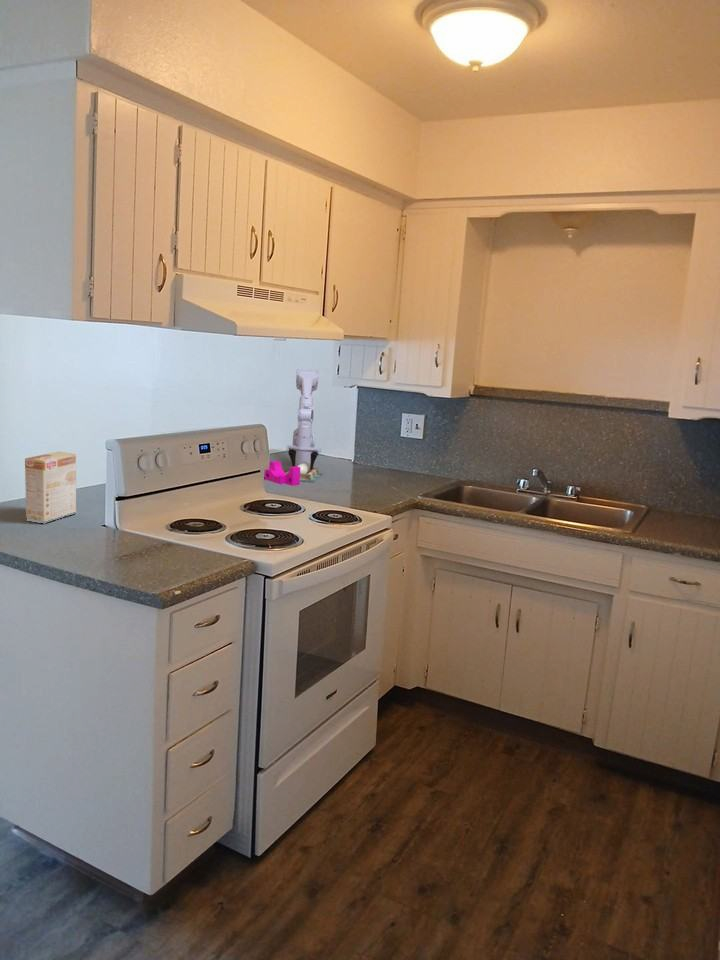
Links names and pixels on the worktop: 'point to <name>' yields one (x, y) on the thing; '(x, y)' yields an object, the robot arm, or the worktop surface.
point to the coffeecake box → (50, 485)
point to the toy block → (282, 474)
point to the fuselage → (304, 467)
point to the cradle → (309, 475)
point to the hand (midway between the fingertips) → (302, 468)
